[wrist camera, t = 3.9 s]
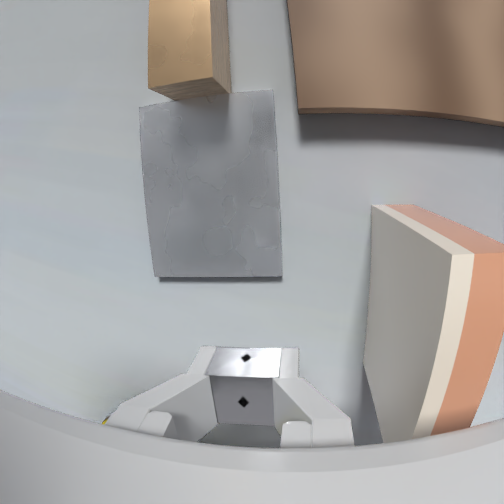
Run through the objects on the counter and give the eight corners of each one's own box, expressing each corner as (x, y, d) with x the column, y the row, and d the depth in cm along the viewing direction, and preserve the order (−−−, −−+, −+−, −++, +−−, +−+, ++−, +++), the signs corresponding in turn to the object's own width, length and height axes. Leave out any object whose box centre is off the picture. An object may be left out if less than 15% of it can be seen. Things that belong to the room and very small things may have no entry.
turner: (151, -68, 11) (128, -97, 7) (256, -88, 10) (246, -125, 6) (159, 272, 16) (128, 299, 12) (282, 271, 15) (278, 302, 12)
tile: (362, 361, 16) (392, 486, 8) (371, 204, 13) (451, 254, 6) (398, 359, 15) (444, 476, 8) (413, 204, 13) (518, 252, 6)
